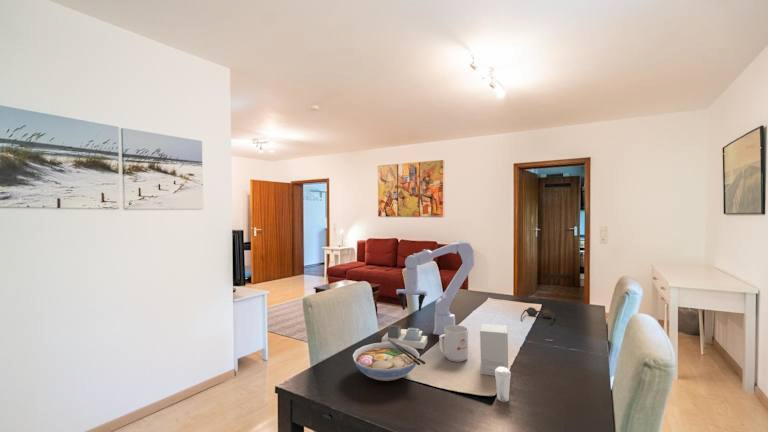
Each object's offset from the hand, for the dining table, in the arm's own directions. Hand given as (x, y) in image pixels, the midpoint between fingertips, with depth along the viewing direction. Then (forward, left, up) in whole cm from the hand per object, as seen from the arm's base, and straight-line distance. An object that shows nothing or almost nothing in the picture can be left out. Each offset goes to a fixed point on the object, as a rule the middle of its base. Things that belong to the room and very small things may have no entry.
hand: (411, 309), depth 162 cm
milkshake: (-39, +51, -10) cm, 65 cm away
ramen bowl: (-2, +47, -10) cm, 48 cm away
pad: (0, +5, -10) cm, 11 cm away
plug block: (-4, +16, -10) cm, 19 cm away
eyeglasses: (-58, -35, -11) cm, 69 cm away
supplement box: (-37, +32, -10) cm, 50 cm away
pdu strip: (-1, +16, -10) cm, 19 cm away
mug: (-22, +26, -10) cm, 36 cm away
